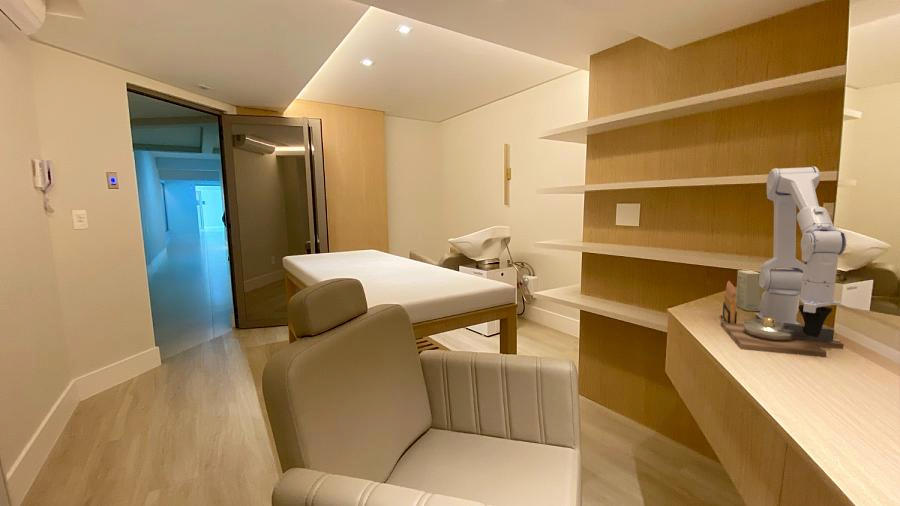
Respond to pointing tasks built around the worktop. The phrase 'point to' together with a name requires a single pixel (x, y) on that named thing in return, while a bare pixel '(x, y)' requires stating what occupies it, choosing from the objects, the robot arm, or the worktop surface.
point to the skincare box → (748, 290)
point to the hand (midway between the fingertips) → (812, 335)
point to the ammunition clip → (730, 304)
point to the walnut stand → (778, 342)
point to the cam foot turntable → (783, 330)
